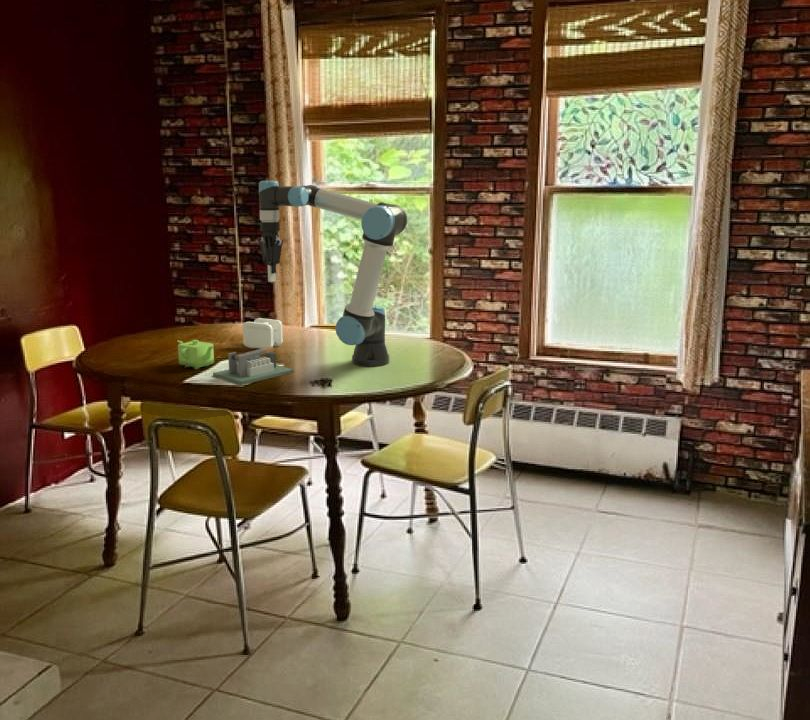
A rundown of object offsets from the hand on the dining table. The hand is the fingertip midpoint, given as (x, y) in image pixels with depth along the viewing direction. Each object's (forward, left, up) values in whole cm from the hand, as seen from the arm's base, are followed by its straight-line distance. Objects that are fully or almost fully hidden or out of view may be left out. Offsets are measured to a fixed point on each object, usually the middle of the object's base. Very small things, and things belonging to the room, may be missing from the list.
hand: (272, 281), depth 312 cm
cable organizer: (+23, -12, -33) cm, 42 cm away
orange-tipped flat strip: (-11, +18, -25) cm, 33 cm away
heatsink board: (-11, +19, -32) cm, 39 cm away
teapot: (+15, +27, -33) cm, 45 cm away
